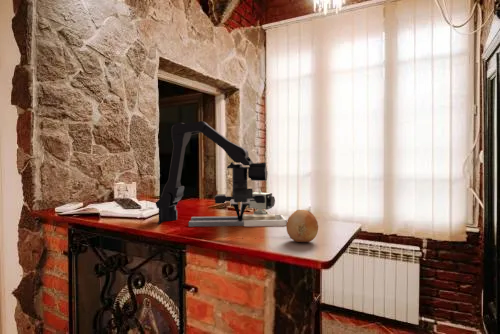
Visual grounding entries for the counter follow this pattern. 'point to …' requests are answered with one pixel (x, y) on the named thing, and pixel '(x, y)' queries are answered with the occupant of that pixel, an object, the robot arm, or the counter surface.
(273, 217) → the block
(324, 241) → the counter surface
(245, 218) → the block
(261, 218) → the block
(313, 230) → the onion
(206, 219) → the slot rail
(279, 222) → the tray
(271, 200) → the pneumatic valve
